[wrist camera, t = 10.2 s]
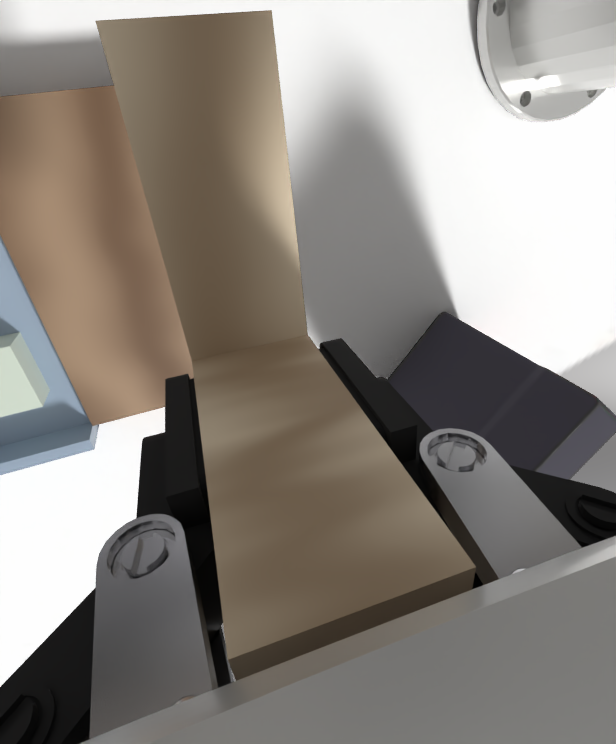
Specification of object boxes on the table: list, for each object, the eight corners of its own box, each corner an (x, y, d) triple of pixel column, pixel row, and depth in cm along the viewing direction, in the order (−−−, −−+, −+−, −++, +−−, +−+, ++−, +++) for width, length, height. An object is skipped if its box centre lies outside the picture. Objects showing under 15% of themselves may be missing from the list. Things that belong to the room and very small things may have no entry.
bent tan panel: (248, 38, 9) (662, -461, 2) (313, 509, 18) (432, 808, 10) (112, 48, 9) (-317, -670, 1) (244, 531, 17) (312, 867, 9)
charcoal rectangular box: (389, 424, 39) (501, 559, 26) (357, 407, 36) (463, 545, 24) (467, 330, 36) (631, 427, 24) (438, 305, 34) (602, 399, 22)
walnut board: (205, 81, 22) (209, 76, 21) (261, 367, 31) (267, 379, 30) (-46, 106, 20) (-64, 103, 18) (96, 409, 29) (92, 426, 27)
